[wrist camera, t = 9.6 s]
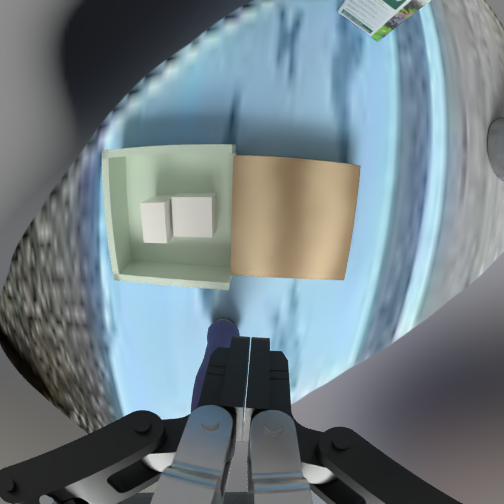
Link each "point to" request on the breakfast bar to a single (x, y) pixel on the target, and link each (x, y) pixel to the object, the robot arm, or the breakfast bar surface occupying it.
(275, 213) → the board
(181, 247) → the tray
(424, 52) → the breakfast bar surface
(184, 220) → the tile
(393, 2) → the syrup box
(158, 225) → the tile
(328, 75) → the breakfast bar surface
